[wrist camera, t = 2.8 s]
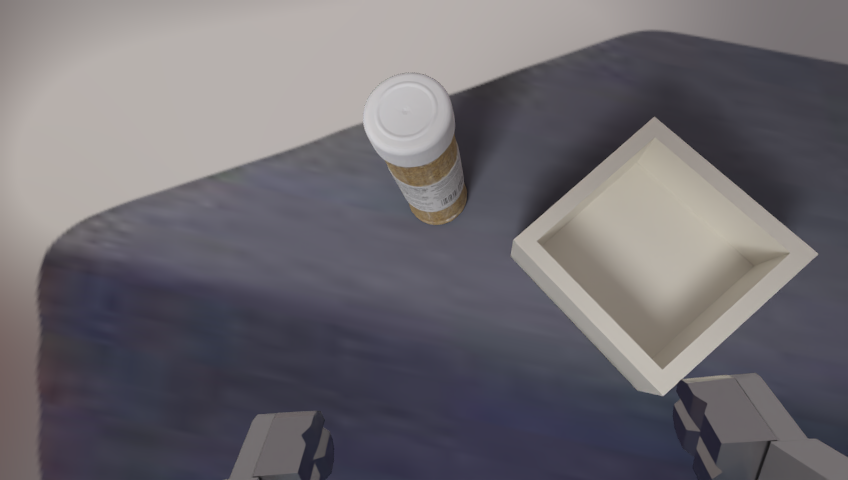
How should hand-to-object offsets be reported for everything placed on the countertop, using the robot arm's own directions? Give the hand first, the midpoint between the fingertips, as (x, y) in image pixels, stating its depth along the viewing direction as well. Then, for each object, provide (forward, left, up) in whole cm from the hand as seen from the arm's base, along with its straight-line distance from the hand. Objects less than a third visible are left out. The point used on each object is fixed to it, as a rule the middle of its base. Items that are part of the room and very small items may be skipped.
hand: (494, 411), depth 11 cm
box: (-1, -12, -22) cm, 26 cm away
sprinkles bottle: (+12, -5, -23) cm, 26 cm away
